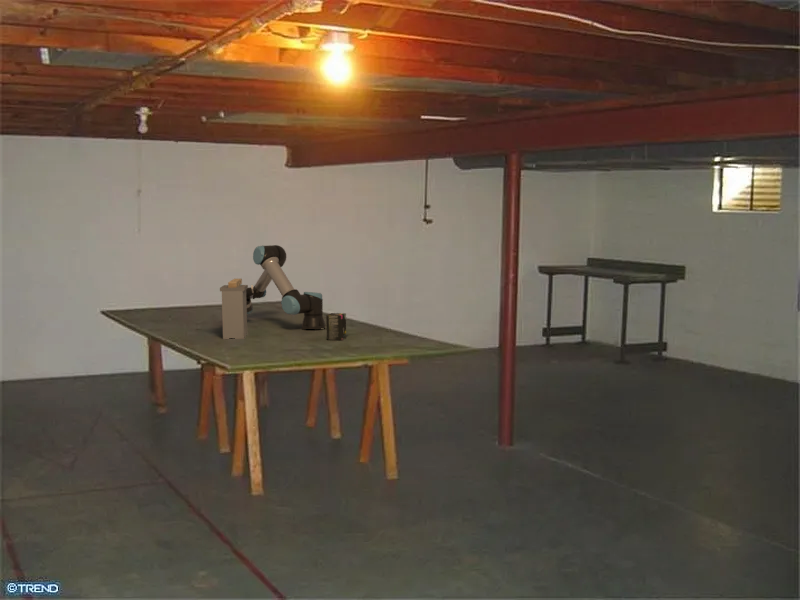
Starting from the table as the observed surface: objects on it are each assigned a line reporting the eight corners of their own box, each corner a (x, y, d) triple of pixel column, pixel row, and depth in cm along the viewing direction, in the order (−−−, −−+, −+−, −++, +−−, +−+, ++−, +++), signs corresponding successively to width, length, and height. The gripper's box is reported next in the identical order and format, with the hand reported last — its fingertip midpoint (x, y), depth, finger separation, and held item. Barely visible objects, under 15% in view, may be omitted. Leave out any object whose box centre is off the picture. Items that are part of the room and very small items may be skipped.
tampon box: (341, 340, 512) (341, 315, 511) (326, 340, 514) (325, 314, 513) (346, 337, 523) (346, 312, 522) (331, 337, 525) (331, 312, 523)
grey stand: (225, 334, 539) (224, 285, 536) (248, 334, 540) (247, 284, 536) (221, 339, 521) (219, 287, 518) (245, 338, 522) (244, 287, 519)
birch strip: (234, 283, 547) (234, 278, 547) (241, 283, 547) (241, 278, 547) (228, 287, 519) (228, 282, 519) (236, 287, 519) (236, 282, 519)
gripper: (264, 305, 580) (260, 292, 561) (225, 306, 579) (220, 292, 559) (264, 295, 583) (261, 281, 564) (225, 295, 582) (221, 281, 562)
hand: (241, 286), depth 561 cm, fingers open, 13 cm apart
